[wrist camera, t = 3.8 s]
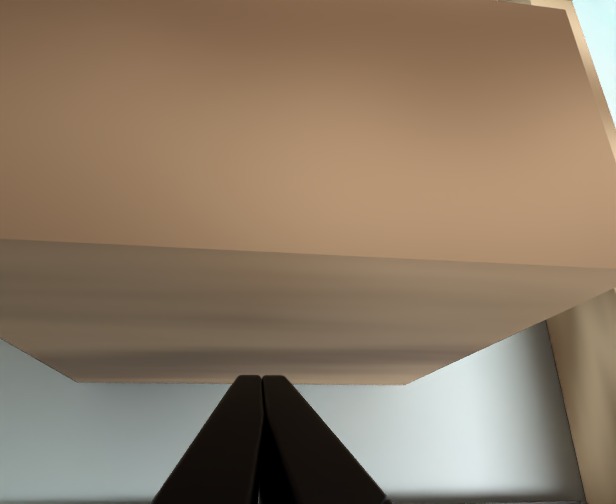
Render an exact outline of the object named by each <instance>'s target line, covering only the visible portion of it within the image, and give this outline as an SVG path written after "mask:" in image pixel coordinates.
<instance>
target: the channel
mask: <svg viewBox="0 0 616 504" xmlns="http://www.w3.org/2000/svg"><path fill="white" fill-rule="evenodd" d="M498 1H505V2H513V3H520V4H528V5H535V6H542V7H550V8H557V9H565V10H566V13H567V16H568V19H569V22H570V25H571V28H572V31H573V34H574V37H575V40H576V43H577V46H578V49H579V52H580V55H581V58H582V61H583V64H584V67H585V70H586V73H587V76H588V79H589V82H590V86H591V89H592V92H593V95H594V98H595V101H596V104H597V107H598V110H599V113H600V116H601V119H602V122H603V125H604V128H605V131H606V134H607V137H608V140H609V143H610V146H611V149H612V152H613V155H614V158H615V161H616V129H615V126H614V123H613V120H612V117H611V114H610V111H609V108H608V105H607V102H606V99H605V96H604V93H603V91H602V88H601V85H600V82H599V79H598V76H597V73H596V70H595V67H594V64H593V61H592V58H591V55H590V53H589V50H588V47H587V44H586V41H585V38H584V35H583V32H582V29H581V26H580V23H579V20H578V17H577V14H576V12H575V9H574V6H573V3H572V0H498ZM546 322H547V327H548V331H549V336H550V340H551V345H552V349H553V354H554V358H555V363H556V367H557V372H558V376H559V380H560V385H561V389H562V394H563V398H564V403H565V407H566V412H567V416H568V421H569V425H570V430H571V434H572V439H573V443H574V447H575V452H576V456H577V461H578V465H579V470H580V474H581V479H582V483H583V488H584V492H585V497H586V501H587V504H616V287H615V288H613V289H611V290H609V291H607V292H605V293H602V294H600V295H598V296H596V297H594V298H592V299H589V300H587V301H585V302H583V303H581V304H579V305H576V306H574V307H572V308H570V309H568V310H566V311H564V312H561V313H559V314H557V315H555V316H553V317H551V318H548V319H546Z"/></svg>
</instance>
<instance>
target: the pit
mask: <svg viewBox="0 0 616 504" xmlns="http://www.w3.org/2000/svg"><path fill="white" fill-rule="evenodd" d="M467 504H581V501H574V500H568V501H534V502H501V503H467Z"/></svg>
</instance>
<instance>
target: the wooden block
mask: <svg viewBox="0 0 616 504" xmlns="http://www.w3.org/2000/svg"><path fill="white" fill-rule="evenodd" d="M615 287H616V161H615V158H614V155H613V152H612V149H611V146H610V143H609V140H608V137H607V134H606V131H605V128H604V125H603V122H602V119H601V116H600V113H599V110H598V107H597V104H596V101H595V98H594V95H593V92H592V89H591V86H590V82H589V79H588V76H587V73H586V70H585V67H584V64H583V61H582V58H581V55H580V52H579V49H578V46H577V43H576V40H575V37H574V34H573V31H572V28H571V25H570V22H569V19H568V16H567V13H566V10H565V9H557V8H550V7H542V6H535V5H528V4H520V3H513V2H505V1H498V0H0V339H2V340H4V341H6V342H7V343H9V344H11V345H13V346H14V347H16V348H18V349H20V350H21V351H23V352H25V353H27V354H28V355H30V356H32V357H34V358H35V359H37V360H39V361H41V362H42V363H44V364H46V365H48V366H49V367H51V368H53V369H55V370H56V371H58V372H60V373H61V374H63V375H65V376H67V377H68V378H70V379H72V380H74V381H75V382H94V383H210V384H233V382H234V381H235V379H236V378H237V377H238V376H239V375H259V376H260V377H261V379H262V377H263V376H264V375H283V376H285V377H286V378H287V379H288V380H289V381H290V382H291V384H327V385H406V384H408V383H410V382H412V381H415V380H417V379H419V378H421V377H423V376H425V375H428V374H430V373H432V372H434V371H436V370H438V369H440V368H443V367H445V366H447V365H449V364H451V363H453V362H456V361H458V360H460V359H462V358H464V357H466V356H469V355H471V354H473V353H475V352H477V351H479V350H481V349H484V348H486V347H488V346H490V345H492V344H494V343H497V342H499V341H501V340H503V339H505V338H507V337H510V336H512V335H514V334H516V333H518V332H520V331H523V330H525V329H527V328H529V327H531V326H533V325H535V324H538V323H540V322H542V321H544V320H546V319H548V318H551V317H553V316H555V315H557V314H559V313H561V312H564V311H566V310H568V309H570V308H572V307H574V306H576V305H579V304H581V303H583V302H585V301H587V300H589V299H592V298H594V297H596V296H598V295H600V294H602V293H605V292H607V291H609V290H611V289H613V288H615Z"/></svg>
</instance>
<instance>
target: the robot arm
mask: <svg viewBox="0 0 616 504" xmlns="http://www.w3.org/2000/svg"><path fill="white" fill-rule="evenodd" d="M258 495H259V504H394V503H393V502H392V501H391V500H390V499H387V495H386V494H385V493H384V492H383V490H382V489H381V488H380V487H379V486H378V485H377V483H376V482H375V481H374V480H373V479H372V478H371V476H370V475H369V474H368V473H367V472H366V471H365V469H364V468H363V467H362V466H361V465H360V463H359V462H358V461H357V460H356V459H355V458H354V456H353V455H352V454H351V453H350V452H349V451H348V449H347V448H346V447H345V446H344V445H343V444H342V442H341V441H340V440H339V439H338V438H337V436H336V435H335V434H334V433H333V432H332V431H331V429H330V428H329V427H328V426H327V425H326V424H325V422H324V421H323V420H322V419H321V418H320V417H319V415H318V414H317V413H316V412H315V411H314V409H313V408H312V407H311V406H310V405H309V404H308V402H307V401H306V400H305V399H304V398H303V397H302V395H301V394H300V393H299V392H298V391H297V390H296V388H295V387H294V386H293V385H292V384H291V382H290V381H289V380H288V379H287V378H286V377H285V376H283V375H264V376H263V377H262V379H261V377H260V376H259V375H239V376H238V377H237V378H236V379H235V381H234V382H233V384H232V385H231V387H230V388H229V389H228V391H227V392H226V394H225V395H224V397H223V398H222V400H221V401H220V403H219V404H218V406H217V407H216V408H215V410H214V411H213V413H212V414H211V416H210V417H209V419H208V420H207V422H206V423H205V424H204V426H203V427H202V429H201V430H200V432H199V433H198V435H197V436H196V438H195V439H194V441H193V442H192V443H191V445H190V446H189V448H188V449H187V451H186V452H185V454H184V455H183V457H182V458H181V459H180V461H179V462H178V464H177V465H176V467H175V468H174V470H173V471H172V473H171V474H170V476H169V477H168V478H167V480H166V481H165V483H164V484H163V486H162V487H161V489H160V490H159V492H158V493H157V494H156V496H155V497H154V499H153V500H152V502H151V504H258Z"/></svg>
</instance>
